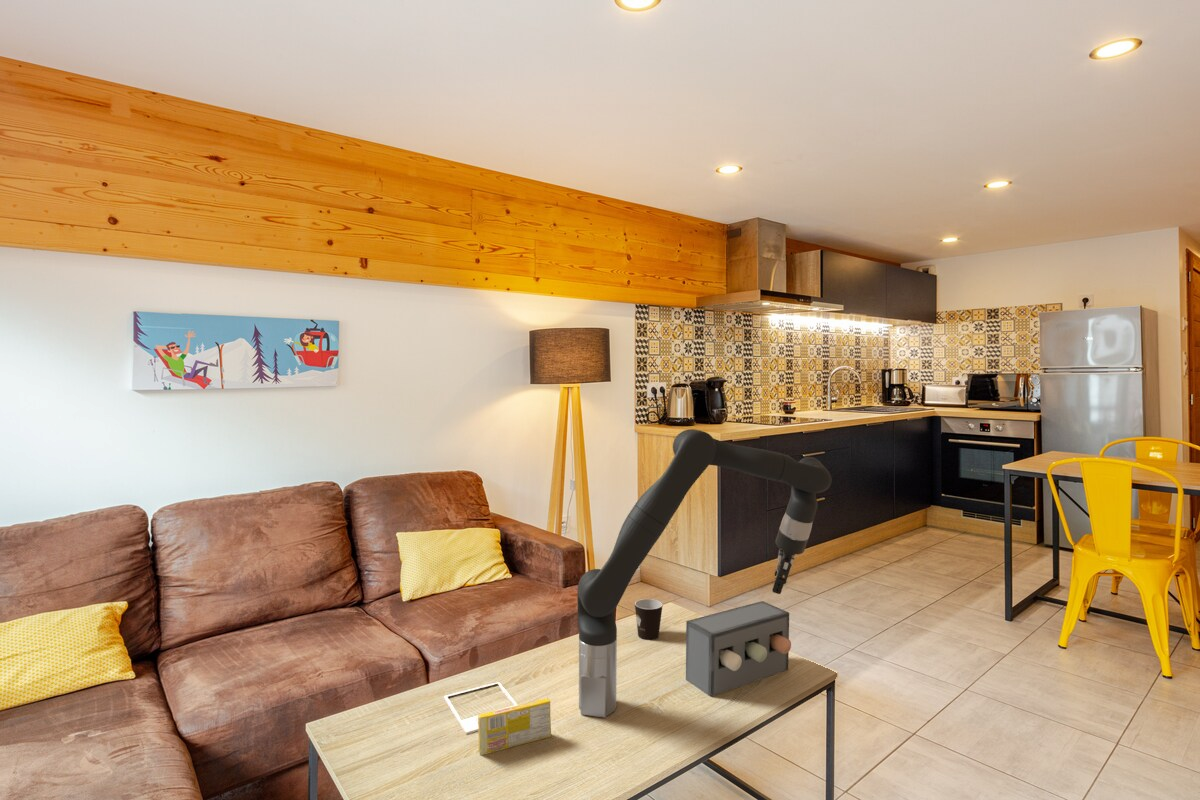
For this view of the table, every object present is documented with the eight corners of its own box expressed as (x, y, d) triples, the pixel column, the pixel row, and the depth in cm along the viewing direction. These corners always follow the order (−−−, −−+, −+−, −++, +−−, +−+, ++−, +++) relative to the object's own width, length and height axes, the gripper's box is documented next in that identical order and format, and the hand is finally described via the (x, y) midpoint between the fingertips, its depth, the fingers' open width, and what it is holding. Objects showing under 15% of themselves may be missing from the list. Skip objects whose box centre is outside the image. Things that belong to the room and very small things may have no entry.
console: (788, 669, 172) (789, 612, 172) (710, 696, 158) (711, 634, 157) (761, 655, 181) (762, 601, 180) (685, 679, 167) (686, 621, 166)
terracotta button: (791, 652, 168) (791, 637, 167) (780, 655, 166) (780, 640, 165) (771, 642, 174) (771, 628, 173) (761, 645, 172) (761, 631, 171)
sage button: (766, 660, 163) (767, 645, 163) (755, 663, 161) (756, 648, 161) (747, 649, 169) (747, 635, 169) (736, 653, 167) (736, 638, 167)
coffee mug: (663, 641, 190) (663, 609, 189) (635, 641, 190) (635, 609, 189) (660, 625, 201) (660, 595, 201) (633, 625, 202) (633, 595, 201)
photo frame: (465, 731, 141) (443, 695, 157) (466, 736, 142) (443, 699, 157) (525, 714, 149) (498, 681, 164) (525, 718, 149) (498, 685, 164)
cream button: (741, 668, 158) (741, 653, 158) (729, 672, 156) (729, 657, 156) (722, 657, 164) (722, 642, 164) (711, 661, 162) (711, 646, 162)
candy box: (548, 732, 143) (548, 697, 142) (551, 737, 141) (551, 701, 140) (477, 750, 136) (477, 713, 135) (480, 756, 134) (480, 718, 133)
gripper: (781, 516, 170) (765, 567, 175) (778, 538, 157) (760, 593, 162) (809, 525, 168) (792, 576, 173) (808, 548, 155) (790, 603, 160)
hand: (777, 584), depth 167 cm, fingers open, 8 cm apart
